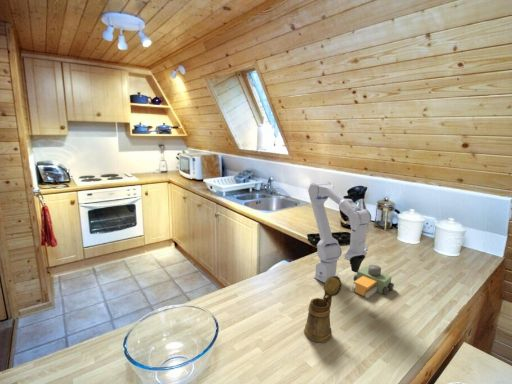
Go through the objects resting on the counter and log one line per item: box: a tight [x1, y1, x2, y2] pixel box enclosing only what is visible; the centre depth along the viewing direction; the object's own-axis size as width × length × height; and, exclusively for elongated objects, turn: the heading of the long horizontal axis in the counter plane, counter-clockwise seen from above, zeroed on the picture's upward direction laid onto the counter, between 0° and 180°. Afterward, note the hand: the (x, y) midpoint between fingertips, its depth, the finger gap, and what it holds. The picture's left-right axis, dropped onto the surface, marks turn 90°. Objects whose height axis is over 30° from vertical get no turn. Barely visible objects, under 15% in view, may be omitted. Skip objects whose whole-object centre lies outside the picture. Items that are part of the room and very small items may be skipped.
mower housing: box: [351, 264, 395, 299], centre depth 124 cm, size 16×14×8 cm
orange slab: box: [353, 276, 377, 297], centre depth 122 cm, size 8×6×4 cm
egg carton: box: [306, 231, 351, 247], centre depth 177 cm, size 18×30×4 cm, turn 114°
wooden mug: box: [303, 275, 342, 344], centre depth 96 cm, size 9×14×18 cm, turn 130°
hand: (354, 271), depth 118 cm, fingers closed
